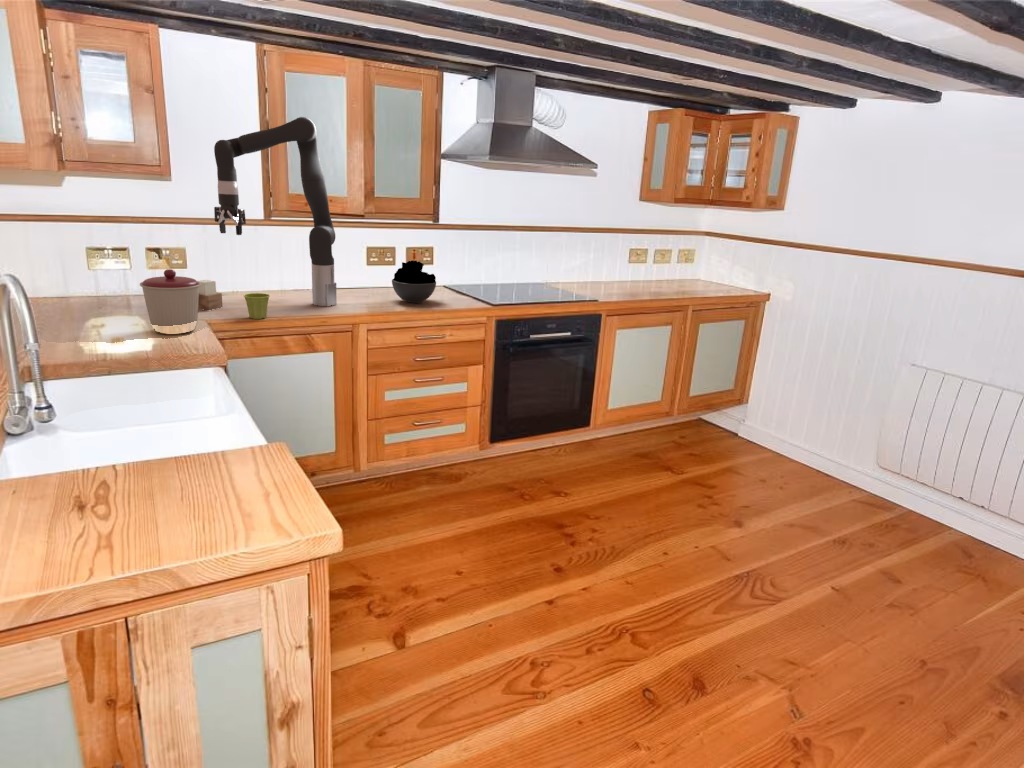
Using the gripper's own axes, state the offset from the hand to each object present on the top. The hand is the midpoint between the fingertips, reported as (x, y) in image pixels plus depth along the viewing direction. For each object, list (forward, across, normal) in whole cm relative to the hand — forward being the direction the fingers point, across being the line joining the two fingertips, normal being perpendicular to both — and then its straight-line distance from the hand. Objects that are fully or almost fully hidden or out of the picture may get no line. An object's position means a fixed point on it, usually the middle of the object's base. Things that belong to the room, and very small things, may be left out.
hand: (231, 234), depth 266 cm
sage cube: (+22, -3, +17) cm, 28 cm away
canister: (+28, -24, +51) cm, 63 cm away
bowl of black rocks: (+29, -56, -51) cm, 81 cm away
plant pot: (+28, -28, +17) cm, 44 cm away
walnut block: (+28, -2, +17) cm, 33 cm away
